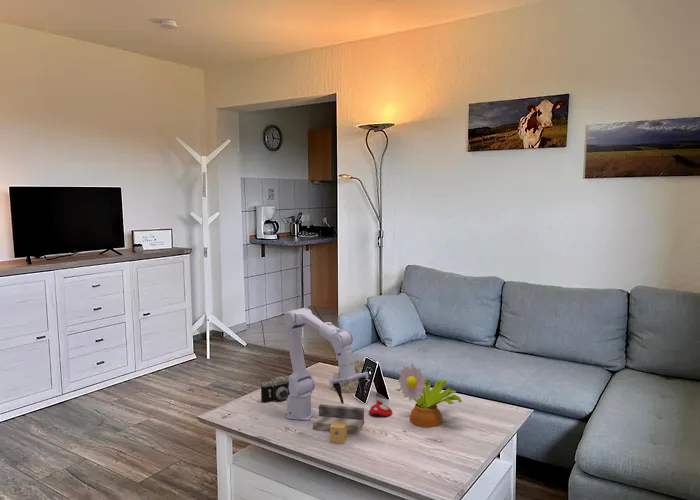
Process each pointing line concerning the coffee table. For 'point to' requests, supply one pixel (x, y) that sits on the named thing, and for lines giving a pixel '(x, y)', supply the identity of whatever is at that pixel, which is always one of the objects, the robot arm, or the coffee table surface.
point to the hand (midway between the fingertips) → (352, 401)
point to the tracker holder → (380, 409)
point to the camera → (275, 389)
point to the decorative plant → (424, 397)
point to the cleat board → (339, 418)
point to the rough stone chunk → (350, 385)
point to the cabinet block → (338, 432)
